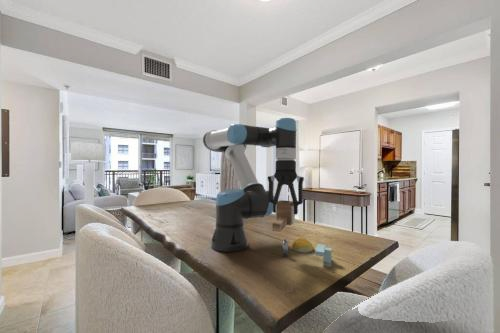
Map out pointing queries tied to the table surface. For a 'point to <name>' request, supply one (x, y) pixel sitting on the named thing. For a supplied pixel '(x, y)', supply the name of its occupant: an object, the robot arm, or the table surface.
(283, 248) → the pintle
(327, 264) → the keeper
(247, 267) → the table surface
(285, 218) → the wooden step block
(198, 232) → the table surface
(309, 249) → the bread roll
